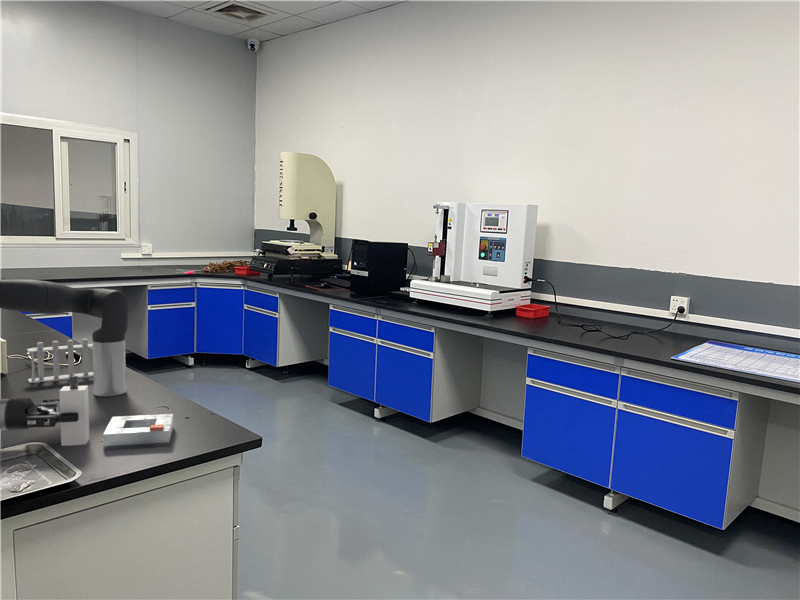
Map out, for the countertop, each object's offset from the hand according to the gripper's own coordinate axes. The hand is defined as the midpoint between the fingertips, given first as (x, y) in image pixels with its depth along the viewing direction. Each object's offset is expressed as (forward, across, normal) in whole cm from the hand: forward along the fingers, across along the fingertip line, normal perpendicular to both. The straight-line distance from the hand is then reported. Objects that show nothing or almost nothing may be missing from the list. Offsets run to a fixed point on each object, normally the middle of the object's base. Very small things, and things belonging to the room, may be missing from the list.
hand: (82, 411), depth 149 cm
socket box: (+13, 0, +8) cm, 16 cm away
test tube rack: (-16, +62, +8) cm, 64 cm away
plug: (-2, 0, +8) cm, 8 cm away
